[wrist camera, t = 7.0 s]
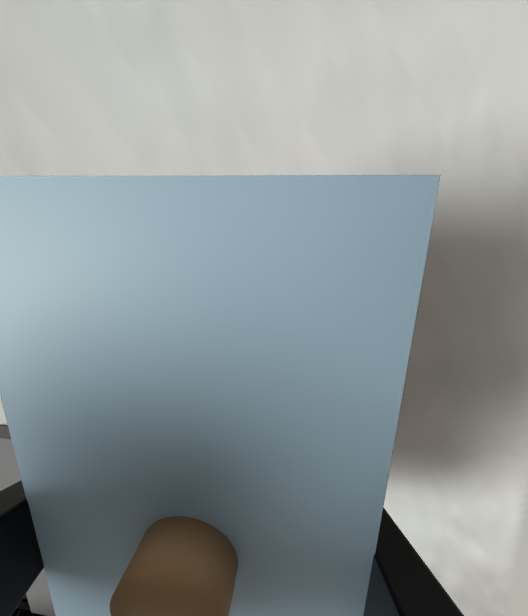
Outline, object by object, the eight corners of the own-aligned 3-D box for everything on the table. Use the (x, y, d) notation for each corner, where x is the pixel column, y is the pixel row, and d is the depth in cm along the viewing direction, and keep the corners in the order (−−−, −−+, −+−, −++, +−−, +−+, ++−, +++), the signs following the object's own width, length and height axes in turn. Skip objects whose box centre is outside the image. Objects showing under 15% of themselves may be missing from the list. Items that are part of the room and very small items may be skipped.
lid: (326, 639, 9) (342, 871, 6) (133, 603, 10) (50, 787, 7) (380, 201, 6) (499, 148, 2) (76, 199, 6) (-166, 156, 3)
